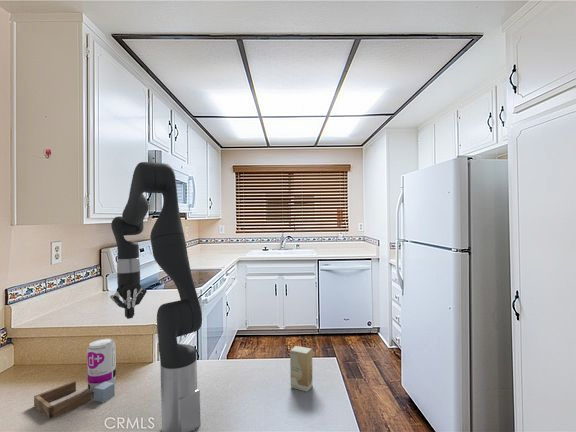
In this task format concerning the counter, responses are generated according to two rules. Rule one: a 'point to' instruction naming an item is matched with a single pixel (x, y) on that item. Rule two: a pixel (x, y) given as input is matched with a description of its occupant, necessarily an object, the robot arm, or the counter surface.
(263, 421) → the counter surface
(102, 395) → the slate-blue block
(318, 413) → the counter surface
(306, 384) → the skincare box
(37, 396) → the frame
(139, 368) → the counter surface
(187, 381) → the robot arm
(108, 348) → the supplement can
